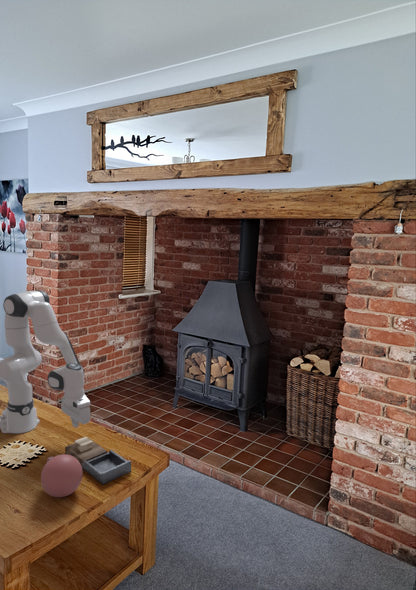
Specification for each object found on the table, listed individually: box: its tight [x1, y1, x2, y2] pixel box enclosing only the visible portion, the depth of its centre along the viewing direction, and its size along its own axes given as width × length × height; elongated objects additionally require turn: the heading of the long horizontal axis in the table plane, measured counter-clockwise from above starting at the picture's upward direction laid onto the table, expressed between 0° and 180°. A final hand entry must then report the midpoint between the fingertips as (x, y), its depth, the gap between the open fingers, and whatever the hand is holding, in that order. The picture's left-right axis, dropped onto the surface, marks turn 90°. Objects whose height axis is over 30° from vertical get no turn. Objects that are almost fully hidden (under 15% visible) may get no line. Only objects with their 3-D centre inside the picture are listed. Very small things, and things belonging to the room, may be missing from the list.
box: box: [82, 449, 132, 486], centre depth 184 cm, size 16×14×5 cm
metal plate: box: [64, 441, 108, 466], centre depth 196 cm, size 16×12×3 cm
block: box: [73, 436, 94, 452], centre depth 196 cm, size 6×6×3 cm
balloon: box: [40, 453, 84, 498], centre depth 169 cm, size 15×20×15 cm
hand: (75, 426), depth 200 cm, fingers closed
